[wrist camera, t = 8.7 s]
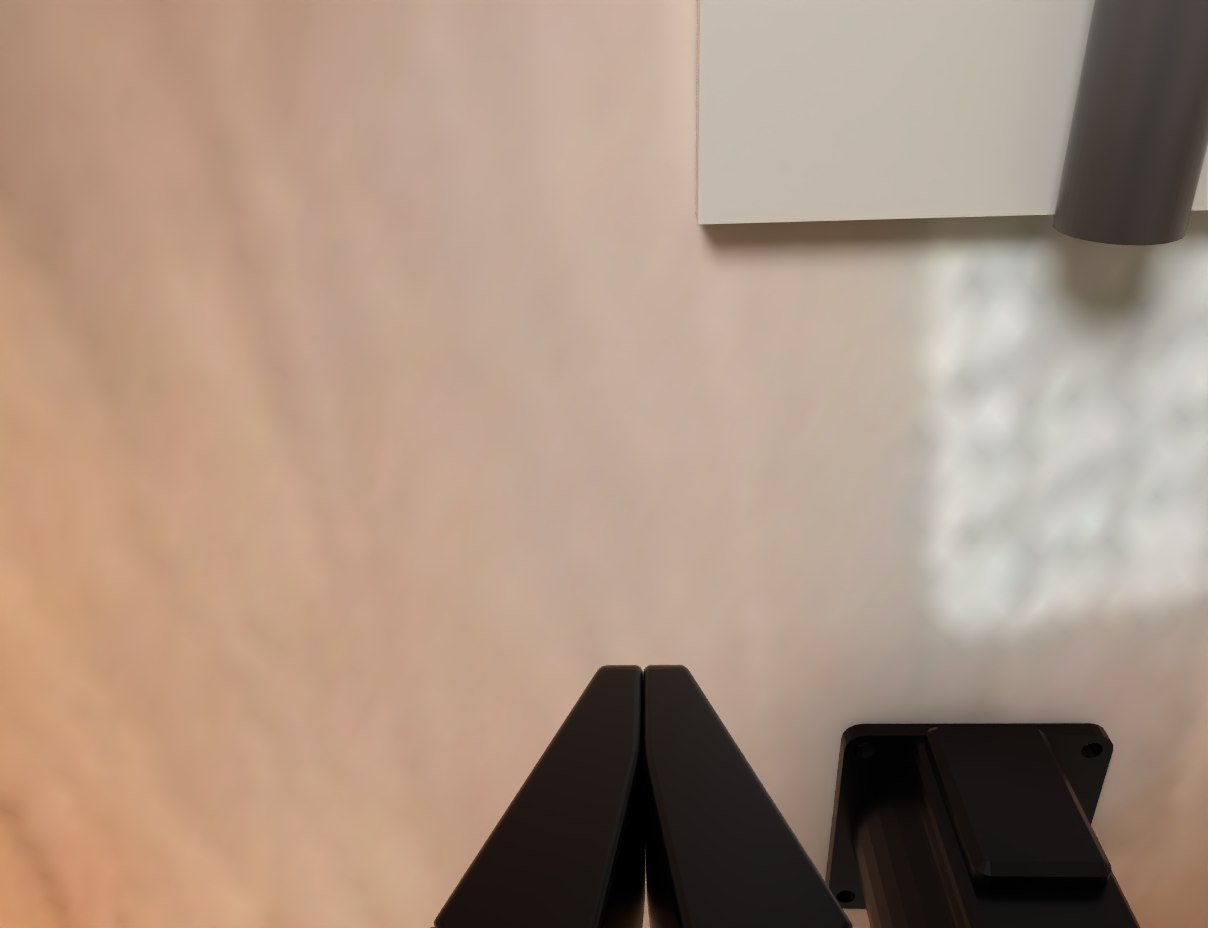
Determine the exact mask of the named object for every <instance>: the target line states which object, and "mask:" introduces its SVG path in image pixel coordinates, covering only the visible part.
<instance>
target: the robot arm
mask: <svg viewBox="0 0 1208 928" xmlns="http://www.w3.org/2000/svg"><path fill="white" fill-rule="evenodd" d="M862 743H868V744H867V745H864V746H858V745H859V744H862ZM1090 743H1092V744H1090ZM1087 744H1090V745H1087ZM1085 745H1087V746H1085ZM1112 752H1113V744H1112V742H1111V740H1110V739H1109V737H1108V735H1107V733H1106V732H1105V730H1104V729H1103V728H1102V727H1100V726H1099V725H1096V724H1090V723H1085V724H859V725H854V726H852V727H850V728H848V729H847V730H846V731H845V732H844V733H843V735H842V738H841V745H840V754H839V763H838V772H837V781H836V791H835V800H834V809H833V818H832V827H831V836H830V845H829V854H828V863H827V872H826V881H824V880H823V878H822V876H821V875H820V873H819V872H818V870H817V869H816V867H815V866H814V864H813V862H812V861H811V859H810V858H809V856H808V855H807V853H806V852H805V850H804V848H803V847H802V845H801V844H800V842H799V841H798V839H797V838H796V836H795V834H794V833H793V831H792V830H791V828H790V827H789V825H788V824H787V822H786V820H785V819H784V817H783V816H782V814H781V813H780V811H779V810H778V808H777V806H776V805H775V803H774V802H773V800H772V799H771V797H770V796H769V794H768V793H767V791H766V789H765V788H764V786H763V785H762V783H761V782H760V780H759V779H758V777H757V775H756V774H755V772H754V771H753V769H752V768H751V766H750V765H749V763H748V761H747V760H746V758H745V757H744V755H743V754H742V752H741V751H740V749H739V747H738V746H737V744H736V743H735V741H734V740H733V738H732V737H731V735H730V733H729V732H728V730H727V729H726V727H725V726H724V724H723V723H722V721H721V719H720V718H719V716H718V715H717V713H716V712H715V710H714V709H713V707H712V705H711V704H710V702H709V701H708V699H707V698H706V696H705V695H704V693H703V692H702V690H701V688H700V687H699V685H698V684H697V682H696V681H695V679H694V678H693V676H692V674H691V673H690V671H689V670H688V669H687V668H686V667H684V666H682V665H649V666H647V667H646V668H645V669H644V673H643V671H642V669H641V668H640V667H639V666H637V665H606V666H602V667H601V668H599V670H598V671H597V672H596V674H595V675H594V677H593V678H592V680H591V681H590V683H589V684H588V686H587V687H586V689H585V690H584V692H583V694H582V695H581V697H580V698H579V700H578V701H577V703H576V704H575V706H574V707H573V709H572V710H571V712H570V713H569V715H568V716H567V718H566V720H565V721H564V723H563V724H562V726H561V727H560V729H559V730H558V732H557V733H556V735H555V736H554V738H553V739H552V741H551V743H550V744H549V746H548V747H547V749H546V750H545V752H544V753H543V755H542V756H541V758H540V759H539V761H538V762H537V764H536V766H535V767H534V769H533V770H532V772H531V773H530V775H529V776H528V778H527V779H526V781H525V782H524V784H523V785H522V787H521V788H520V790H519V792H518V793H517V795H516V796H515V798H514V799H513V801H512V802H511V804H510V805H509V807H508V808H507V810H506V811H505V813H504V815H503V816H502V818H501V819H500V821H499V822H498V824H497V825H496V827H495V828H494V830H493V831H492V833H491V834H490V836H489V838H488V839H487V841H486V842H485V844H484V845H483V847H482V848H481V850H480V851H479V853H478V854H477V856H476V857H475V859H474V860H473V862H472V864H471V865H470V867H469V868H468V870H467V871H466V873H465V874H464V876H463V877H462V879H461V880H460V882H459V883H458V885H457V887H456V888H455V890H454V891H453V893H452V894H451V896H450V897H449V899H448V900H447V902H446V903H445V905H444V906H443V908H442V909H441V911H440V913H439V914H438V916H437V917H436V919H435V921H434V926H435V927H431V928H642V925H643V914H644V903H645V875H646V882H647V902H648V912H649V922H650V928H852V923H851V921H850V920H849V918H848V917H847V915H846V914H845V912H844V911H843V909H842V908H847V909H867V913H868V917H869V922H870V926H871V928H1140V926H1139V924H1138V922H1137V920H1136V918H1135V916H1134V914H1133V912H1132V910H1131V908H1130V906H1129V904H1128V902H1127V900H1126V898H1125V896H1124V894H1123V892H1122V890H1121V888H1120V886H1119V884H1118V882H1117V880H1116V878H1115V876H1114V874H1113V872H1112V870H1111V865H1110V863H1109V861H1108V859H1107V857H1106V855H1105V853H1104V851H1103V849H1102V847H1101V845H1100V843H1099V841H1098V839H1097V837H1096V835H1095V833H1094V831H1093V829H1092V827H1091V822H1092V819H1093V816H1094V812H1095V809H1096V806H1097V802H1098V799H1099V795H1100V792H1101V789H1102V785H1103V782H1104V779H1105V775H1106V772H1107V769H1108V765H1109V762H1110V759H1111V755H1112ZM645 848H646V864H645Z"/></svg>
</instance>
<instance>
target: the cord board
mask: <svg viewBox="0 0 1208 928" xmlns="http://www.w3.org/2000/svg"><path fill="white" fill-rule="evenodd" d="M1197 210H1208V0H697V112H696V218H697V223H698V224H733V223H768V222H804V221H840V220H876V219H911V218H947V217H983V216H1018V215H1054V220H1053V227H1054V228H1055V229H1056V230H1057V231H1059V232H1061V233H1063V234H1066V235H1068V236H1071V237H1075V238H1079V239H1083V240H1088V241H1094V242H1100V243H1108V244H1120V245H1154V244H1164V243H1169V242H1174V241H1177V240H1179V239H1181V238H1183V237H1184V235H1185V232H1186V228H1187V224H1188V220H1189V216H1190V213H1191V211H1197Z"/></svg>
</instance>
